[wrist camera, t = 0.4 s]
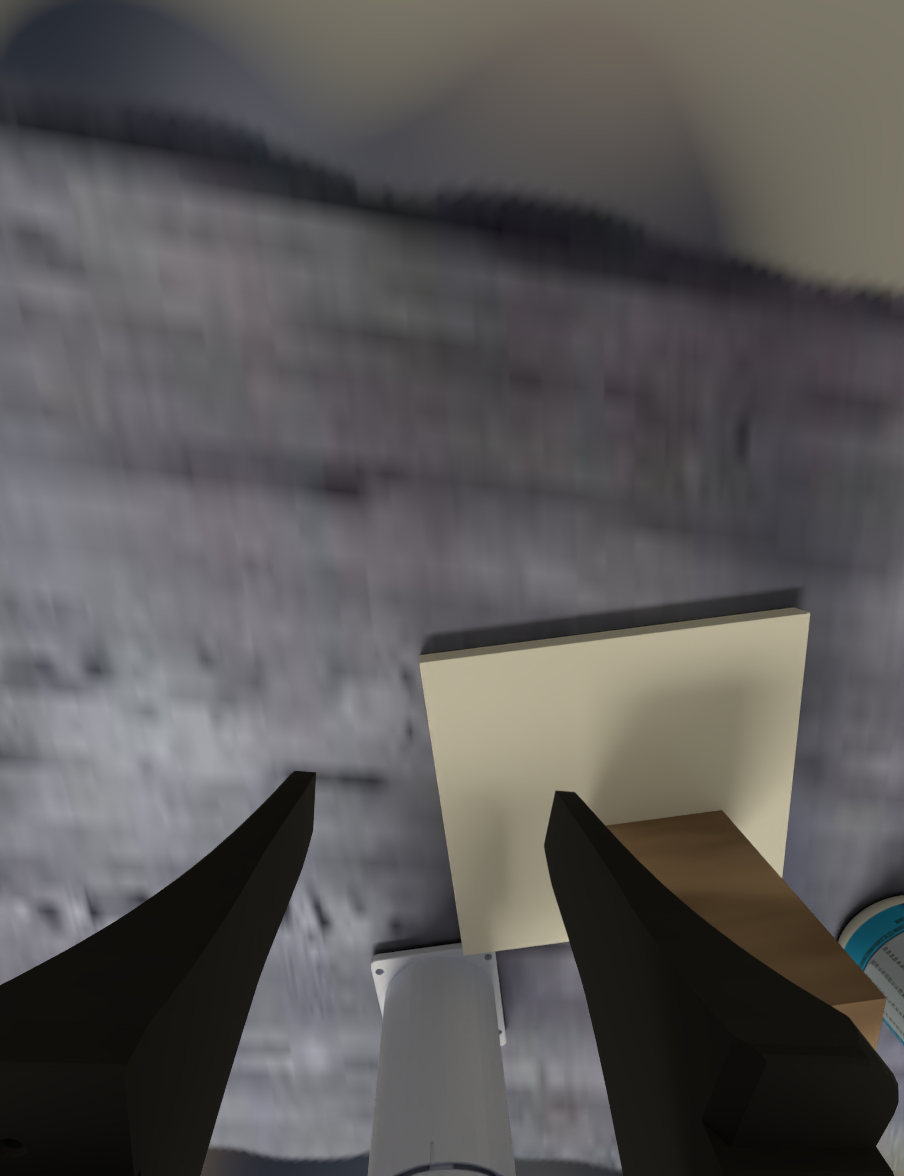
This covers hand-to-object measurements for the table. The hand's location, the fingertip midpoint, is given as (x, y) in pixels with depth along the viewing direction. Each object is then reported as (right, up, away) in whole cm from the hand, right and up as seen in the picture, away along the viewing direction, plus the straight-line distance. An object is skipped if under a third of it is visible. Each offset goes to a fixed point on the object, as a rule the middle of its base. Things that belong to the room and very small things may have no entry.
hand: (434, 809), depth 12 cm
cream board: (+10, -5, +12) cm, 17 cm away
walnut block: (+12, -8, +12) cm, 19 cm away
